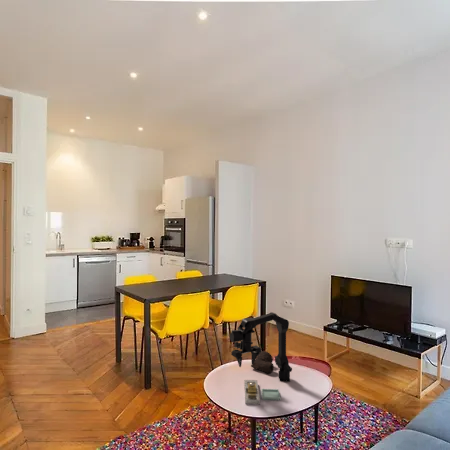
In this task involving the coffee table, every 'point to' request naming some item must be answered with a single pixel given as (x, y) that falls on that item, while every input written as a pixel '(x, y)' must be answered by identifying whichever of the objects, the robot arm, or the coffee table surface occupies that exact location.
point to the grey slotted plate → (251, 397)
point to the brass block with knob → (251, 388)
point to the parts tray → (270, 394)
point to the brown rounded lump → (263, 362)
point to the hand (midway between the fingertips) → (246, 365)
